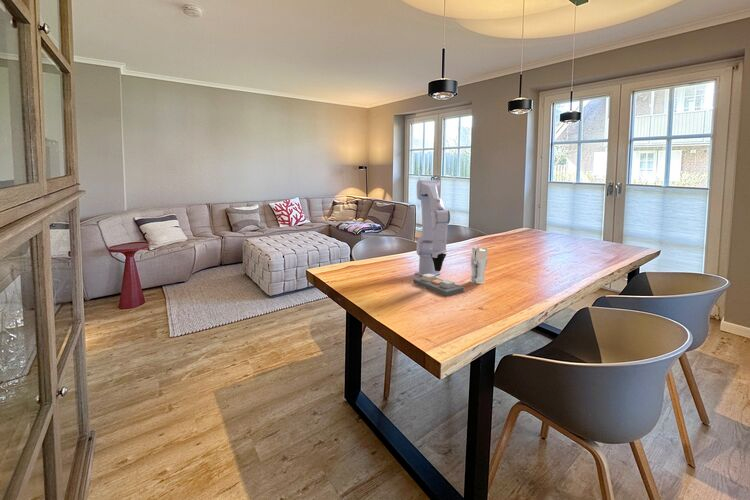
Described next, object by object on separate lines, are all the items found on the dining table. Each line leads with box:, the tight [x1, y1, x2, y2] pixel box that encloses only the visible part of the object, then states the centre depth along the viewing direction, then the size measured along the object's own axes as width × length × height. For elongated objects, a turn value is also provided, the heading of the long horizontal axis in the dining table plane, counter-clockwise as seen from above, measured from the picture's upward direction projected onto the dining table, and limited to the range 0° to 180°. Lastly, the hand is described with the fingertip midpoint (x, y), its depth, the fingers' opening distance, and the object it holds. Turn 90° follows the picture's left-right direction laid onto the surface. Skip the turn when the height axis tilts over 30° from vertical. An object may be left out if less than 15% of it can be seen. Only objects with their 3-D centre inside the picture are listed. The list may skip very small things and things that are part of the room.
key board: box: [412, 276, 465, 297], centre depth 157 cm, size 10×20×2 cm, turn 35°
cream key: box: [421, 274, 437, 282], centre depth 161 cm, size 4×4×2 cm
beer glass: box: [469, 247, 489, 285], centre depth 164 cm, size 7×7×15 cm
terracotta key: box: [431, 278, 443, 285], centre depth 157 cm, size 4×4×2 cm
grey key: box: [440, 279, 456, 289], centre depth 152 cm, size 4×4×2 cm
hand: (437, 270), depth 157 cm, fingers closed
